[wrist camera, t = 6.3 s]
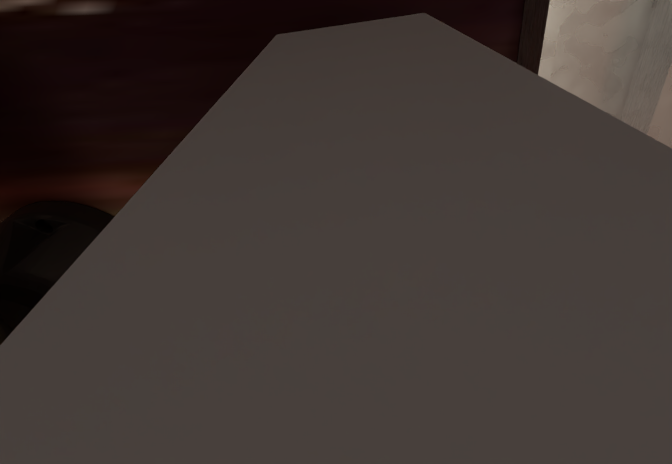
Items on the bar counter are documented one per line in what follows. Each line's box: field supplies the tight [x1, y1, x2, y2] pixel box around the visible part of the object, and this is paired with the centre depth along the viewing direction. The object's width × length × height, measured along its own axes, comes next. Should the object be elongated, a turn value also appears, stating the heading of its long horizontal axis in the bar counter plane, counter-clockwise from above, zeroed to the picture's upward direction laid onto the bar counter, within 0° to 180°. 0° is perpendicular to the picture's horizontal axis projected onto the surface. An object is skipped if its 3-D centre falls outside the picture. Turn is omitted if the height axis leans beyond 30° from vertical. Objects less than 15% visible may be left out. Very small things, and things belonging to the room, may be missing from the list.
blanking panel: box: [0, 13, 672, 464], centre depth 11 cm, size 5×14×14 cm, turn 7°
